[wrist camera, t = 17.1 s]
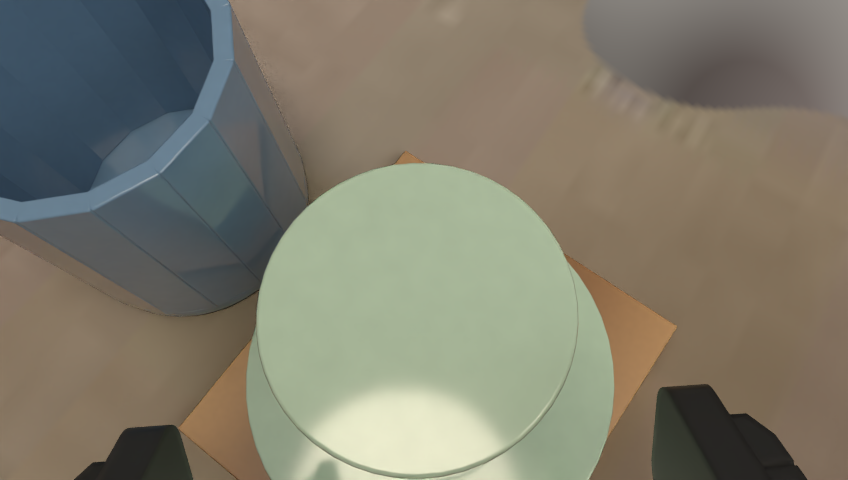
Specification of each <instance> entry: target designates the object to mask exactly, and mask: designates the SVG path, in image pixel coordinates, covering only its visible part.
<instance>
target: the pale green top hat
mask: <svg viewBox="0 0 848 480" xmlns="http://www.w3.org/2000/svg"><path fill="white" fill-rule="evenodd" d="M614 389H615V387H614V367H613V359H612V354H611V348H610V343H609V338H608V335H607V332H606V329H605V326H604V323H603V320H602V317H601V314H600V312H599V310H598V308H597V306H596V304H595V302H594V299H593V297H592V295H591V294H590V292H589V291H588V289H587V287H586V286H585V284H584V283H583V281H582V279H581V278H580V276H579V275H578V274H577V273H576V271H575V270H574V269H573V268H572V266H571V265H570V264H569V263H568V262H567V260H566V258H565V256H564V253H563V251H562V249H561V247H560V245H559V243H558V242H557V240H556V239H555V237H554V235H553V234H552V232H551V231H550V229H549V228H548V226H547V225H546V224H545V223H544V222H543V220H542V219H541V218H540V217H539V216H538V214H537V213H536V212H535V211H534V210H533V209H531V208H530V207H529V206H528V205H527V204H526V203H525V202H524V201H523V200H522V199H520V198H519V197H518V196H516V195H515V194H514V193H512V192H511V191H509V190H508V189H507V188H505V187H503V186H501V185H500V184H498V183H496V182H494V181H492V180H491V179H489V178H486V177H484V176H481V175H479V174H476V173H474V172H471V171H468V170H464V169H461V168H457V167H453V166H447V165H440V164H433V163H408V164H397V165H391V166H386V167H381V168H377V169H373V170H370V171H367V172H364V173H362V174H359V175H356V176H354V177H352V178H350V179H348V180H346V181H343V182H341V183H339V184H338V185H336V186H334V187H333V188H331V189H330V190H328V191H327V192H325V193H324V194H322V195H321V196H320V197H318V198H317V199H316V200H315V201H314V202H312V203H311V204H310V205H309V206H307V207H306V208H305V210H304V211H303V212H302V213H301V214H300V215H299V216H298V217H297V218H296V219H295V220H294V221H293V222H292V224H291V225H290V226H289V228H288V229H287V230H286V232H285V233H284V235H283V236H282V237H281V239H280V241H279V243H278V244H277V246H276V248H275V250H274V251H273V253H272V255H271V257H270V260H269V262H268V265H267V267H266V270H265V272H264V275H263V279H262V283H261V286H260V290H259V295H258V302H257V310H256V327H255V330H254V334H253V338H252V341H251V345H250V349H249V355H248V363H247V370H246V402H247V410H248V418H249V424H250V428H251V432H252V435H253V439H254V443H255V447H256V449H257V452H258V454H259V456H260V459H261V461H262V464H263V466H264V468H265V470H266V472H267V474H268V476H269V477H270V479H271V480H589V479H590V477H591V475H592V473H593V471H594V469H595V467H596V465H597V464H598V462H599V459H600V456H601V453H602V451H603V448H604V445H605V442H606V440H607V436H608V432H609V427H610V423H611V418H612V413H613V401H614Z"/></svg>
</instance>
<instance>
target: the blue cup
mask: <svg viewBox="0 0 848 480" xmlns="http://www.w3.org/2000/svg"><path fill="white" fill-rule="evenodd" d="M307 206H308V186H307V180H306V174H305V171H304V168H303V162H302V158H301V156H300V154H299V152H298V150H297V147H296V145H295V143H294V141H293V139H292V137H291V134H290V132H289V130H288V128H287V126H286V124H285V121H284V119H283V117H282V115H281V113H280V111H279V108H278V106H277V104H276V102H275V100H274V98H273V95H272V93H271V91H270V89H269V87H268V85H267V82H266V80H265V78H264V76H263V74H262V72H261V69H260V67H259V65H258V63H257V61H256V58H255V56H254V54H253V52H252V50H251V48H250V45H249V43H248V41H247V39H246V37H245V35H244V32H243V30H242V28H241V26H240V24H239V22H238V19H237V17H236V15H235V13H234V11H233V9H232V6H231V4H230V2H229V1H228V0H0V236H2V237H4V238H6V239H7V240H9V241H11V242H13V243H15V244H16V245H18V246H20V247H22V248H24V249H25V250H27V251H29V252H31V253H33V254H34V255H36V256H38V257H40V258H42V259H44V260H45V261H47V262H49V263H51V264H53V265H54V266H56V267H58V268H60V269H62V270H63V271H65V272H67V273H69V274H71V275H72V276H74V277H76V278H78V279H80V280H82V281H83V282H85V283H87V284H89V285H91V286H92V287H94V288H96V289H98V290H100V291H101V292H103V293H105V294H107V295H109V296H110V297H112V298H114V299H116V300H118V301H119V302H121V303H123V304H126V305H131V306H134V307H136V308H138V309H141V310H144V311H147V312H150V313H154V314H159V315H165V316H194V315H201V314H206V313H210V312H215V311H217V310H220V309H223V308H226V307H229V306H231V305H233V304H235V303H237V302H239V301H241V300H243V299H245V298H247V297H248V296H250V295H251V294H253V293H254V292H256V291H257V290H259V289H260V286H261V283H262V279H263V275H264V272H265V270H266V267H267V265H268V262H269V260H270V257H271V255H272V253H273V251H274V250H275V248H276V246H277V244H278V243H279V241H280V239H281V237H282V236H283V235H284V233H285V232H286V230H287V229H288V228H289V226H290V225H291V224H292V222H293V221H294V220H295V219H296V218H297V217H298V216H299V215H300V214H301V213H302V212H303V211H304V210H305V208H306V207H307Z"/></svg>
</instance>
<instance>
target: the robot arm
mask: <svg viewBox="0 0 848 480" xmlns="http://www.w3.org/2000/svg"><path fill="white" fill-rule="evenodd" d="M652 473H653V479H654V480H807V478H806V477H805V476H804V474H803V473H802V471H801V470H800V469H799V467H798V466H797V465H796V466H795V465H794V462H793V459H792V457H791V456H790V455H789V453H788V452H787V451H786V449H785V448H784V446H783V445H782V444H781V442H780V441H779V439H778V438H777V437H776V435H775V434H774V433H772V432H771V431H770V430H768V429H767V428H766V427H764V426H763V425H761V424H760V423H759V422H757V421H756V420H755V419H753V418H752V417H751V416H749V415H748V414H746V413H745V414H731V415H730V414H729V413H728V411H727V410H726V408H725V407H724V405H723V404H722V402H721V401H720V399H719V398H718V396H717V395H716V393H715V391H714V390H713V389H712V388H711V387H710V386H709V385H707V384H701V385H687V386H673V387H662V388H660V389H659V391H658V395H657V403H656V414H655V425H654V437H653V448H652ZM74 480H193V477H192V473H191V470H190V466H189V463H188V459H187V456H186V452H185V449H184V446H183V442H182V439H181V435H180V433H179V430H178V429H177V427H176V426H174V425H162V426H148V427H135V428H127V429H126V430H124V431H123V432H122V434H121V435H120V437H119V439H118V440H117V442H116V444H115V446H114V448H113V449H112V451H111V453H110V455H109V457H108V458H107V460H106V462H94V463H92V464H91V465H89V466H88V467H87V468H86V469H85V470H84V471H83V472H82V473H81V474H80V475H79V476H77V477H76V478H75V479H74Z"/></svg>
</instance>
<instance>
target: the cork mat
mask: <svg viewBox="0 0 848 480" xmlns="http://www.w3.org/2000/svg"><path fill="white" fill-rule="evenodd" d="M408 163H424V162H422V161H421V160H419V159H417V158H416V157H414V156H413V155H411V154H410V153H408V152H407V151H405V152H404V153H403V154H402V156H401V157H400V158H399V159H398V160H397V162H396V163H395V164H394V165H397V164H408ZM564 256H565V258H566V260H567V262H568V263H569V264H570V265H571V266H572V268H573V269H574V270H575V271H576V273H577V274H578V275H579V276H580V278H581V279H582V281H583V283H584V284H585V286H586V287H587V289H588V291H589V292H590V294H591V295H592V297H593V299H594V302H595V304H596V306H597V308H598V310H599V312H600V314H601V317H602V320H603V323H604V326H605V329H606V332H607V335H608V338H609V343H610V348H611V354H612V359H613V367H614V387H615V389H614V401H613V413H612V418H611V423H610V427H609V432H608V436H607V438H608V437H609V435H610V434H611V432H612V430H613V429H614V427H615V426H616V424H617V422H618V421H619V419H620V418H621V416H622V414H623V413H624V411H625V410H626V408H627V406H628V405H629V403H630V402H631V400H632V398H633V397H634V395H635V394H636V392H637V390H638V389H639V387H640V386H641V384H642V382H643V381H644V379H645V378H646V376H647V374H648V373H649V371H650V370H651V368H652V366H653V365H654V363H655V362H656V360H657V358H658V357H659V355H660V354H661V352H662V350H663V349H664V347H665V346H666V344H667V342H668V341H669V339H670V338H671V336H672V334H673V333H674V331H675V330H676V328H677V326H676V325H674V324H673V323H671V322H669V321H668V320H666V319H665V318H663V317H662V316H660V315H659V314H657V313H656V312H654V311H652V310H651V309H649V308H648V307H646V306H645V305H643V304H642V303H640V302H639V301H637V300H635V299H634V298H632V297H631V296H629V295H628V294H626V293H625V292H623V291H622V290H620V289H618V288H617V287H615V286H614V285H612V284H611V283H609V282H608V281H606V280H605V279H603V278H601V277H600V276H598V275H597V274H595V273H594V272H592V271H591V270H589V269H588V268H586V267H584V266H583V265H581V264H580V263H578V262H577V261H575V260H574V259H572V258H570V257H569V256H567V255H566V254H564ZM251 341H252V339H251V340H250V341H249V342H248V344H247V345H246V346H245V347H244V349H243V350H242V351H241V352H240V353H239V355H238V356H237V357H236V358H235V360H234V361H233V362H232V363H231V364H230V366H229V367H228V368H227V369H226V371H225V372H224V373H223V374H222V375H221V377H220V378H219V379H218V380H217V382H216V383H215V384H214V385H213V386H212V388H211V389H210V390H209V391H208V393H207V394H206V395H205V396H204V397H203V399H202V400H201V401H200V402H199V403H198V405H197V406H196V407H195V408H194V410H193V411H192V412H191V413H190V414H189V416H188V417H187V418H186V419H185V421H184V422H183V423H182V424H181V425H180V427H179V428H178V429H179V430H180V431H181V432H182V433H183V434H184V435H186V436H187V437H188V438H189V439H190V440H192V441H193V442H194V443H195V444H196V445H197V446H199V447H200V448H201V449H202V450H203V451H205V452H206V453H207V454H208V455H209V456H210V457H212V458H213V459H214V460H215V461H216V462H217V463H219V464H220V465H221V466H222V467H223V468H225V469H226V470H227V471H228V472H229V473H230V474H232V475H233V476H234V477H235V478H236V479H238V480H271V479H270V477H269V476H268V474H267V472H266V470H265V468H264V466H263V464H262V461H261V459H260V456H259V454H258V452H257V449H256V447H255V443H254V439H253V435H252V432H251V428H250V424H249V418H248V410H247V402H246V370H247V363H248V355H249V349H250V345H251Z"/></svg>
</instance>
